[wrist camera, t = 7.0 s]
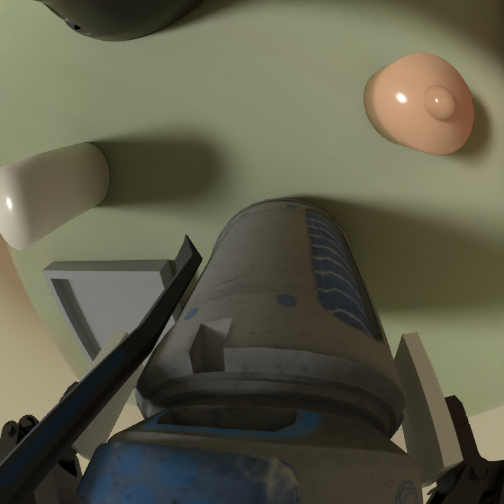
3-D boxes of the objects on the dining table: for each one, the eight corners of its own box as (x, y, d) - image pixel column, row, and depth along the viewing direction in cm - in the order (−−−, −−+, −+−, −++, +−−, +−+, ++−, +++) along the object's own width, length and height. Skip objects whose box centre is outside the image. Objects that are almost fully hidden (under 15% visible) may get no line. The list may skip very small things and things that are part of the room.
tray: (52, 261, 25) (42, 270, 24) (168, 259, 23) (159, 271, 21) (109, 375, 34) (103, 384, 32) (209, 393, 31) (206, 405, 29)
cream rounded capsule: (58, 151, 20) (-16, 176, 12) (103, 135, 19) (20, 154, 11) (71, 210, 22) (4, 251, 14) (116, 203, 21) (43, 248, 13)
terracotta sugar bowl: (359, 62, 14) (390, 37, 8) (433, 73, 13) (482, 62, 7) (366, 143, 17) (401, 154, 11) (437, 148, 16) (488, 164, 10)
